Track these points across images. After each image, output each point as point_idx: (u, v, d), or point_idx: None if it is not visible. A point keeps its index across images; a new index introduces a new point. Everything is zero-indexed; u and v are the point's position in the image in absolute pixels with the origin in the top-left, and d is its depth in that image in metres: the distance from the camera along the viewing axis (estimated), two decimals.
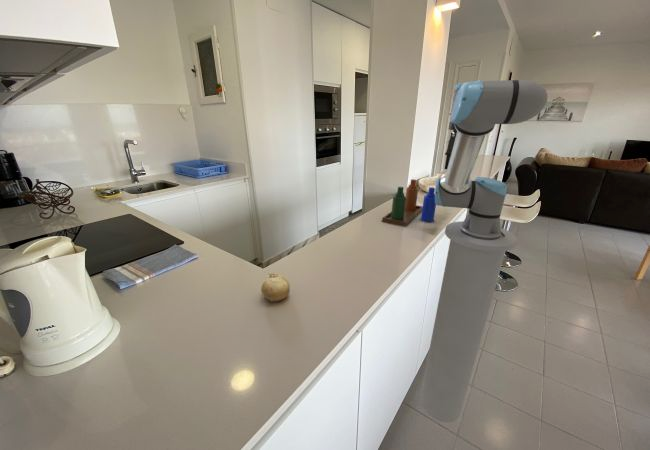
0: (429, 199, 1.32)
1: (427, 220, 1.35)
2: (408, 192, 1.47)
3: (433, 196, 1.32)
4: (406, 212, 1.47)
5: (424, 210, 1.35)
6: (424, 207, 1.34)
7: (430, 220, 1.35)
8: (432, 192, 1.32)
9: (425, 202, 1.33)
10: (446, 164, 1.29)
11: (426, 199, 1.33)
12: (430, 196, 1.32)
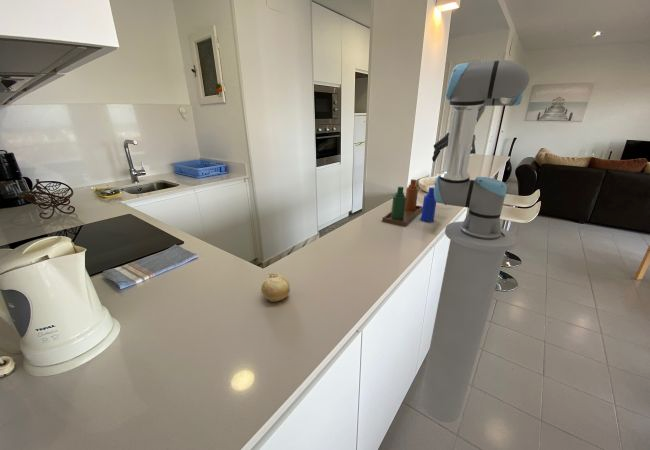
0: (429, 199, 1.32)
1: (427, 220, 1.35)
2: (408, 192, 1.47)
3: (433, 196, 1.32)
4: (406, 212, 1.47)
5: (424, 210, 1.35)
6: (424, 207, 1.34)
7: (430, 220, 1.35)
8: (432, 192, 1.32)
9: (425, 202, 1.33)
10: None
11: (426, 199, 1.33)
12: (430, 196, 1.32)
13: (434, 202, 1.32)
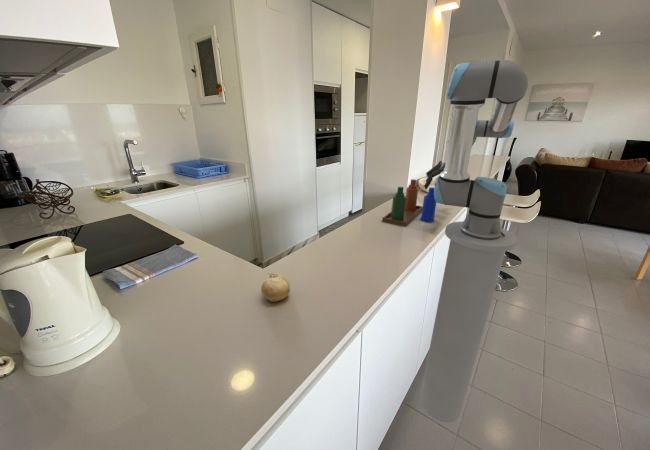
0: (429, 199, 1.32)
1: (427, 220, 1.35)
2: (408, 192, 1.47)
3: (433, 196, 1.32)
4: (406, 212, 1.47)
5: (424, 210, 1.35)
6: (424, 207, 1.34)
7: (430, 220, 1.35)
8: (432, 192, 1.32)
9: (425, 202, 1.33)
10: None
11: (426, 199, 1.33)
12: (430, 196, 1.32)
13: (434, 202, 1.32)
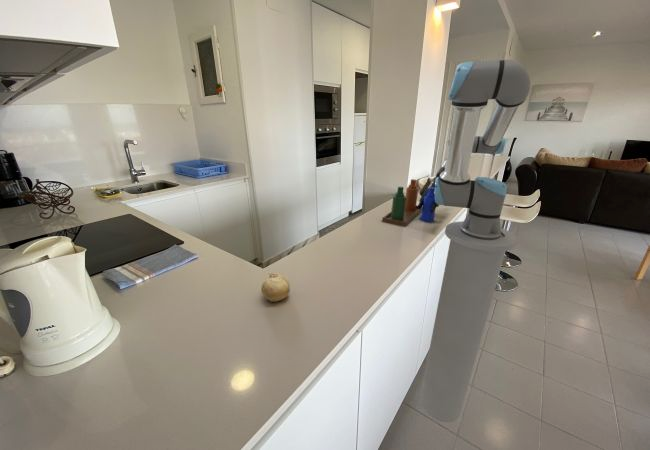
0: (429, 199, 1.32)
1: (427, 220, 1.35)
2: (408, 192, 1.47)
3: (433, 196, 1.32)
4: (406, 212, 1.47)
5: (424, 210, 1.35)
6: (424, 207, 1.34)
7: (430, 220, 1.35)
8: (432, 192, 1.32)
9: (425, 202, 1.33)
10: None
11: (426, 199, 1.33)
12: (430, 196, 1.32)
13: None
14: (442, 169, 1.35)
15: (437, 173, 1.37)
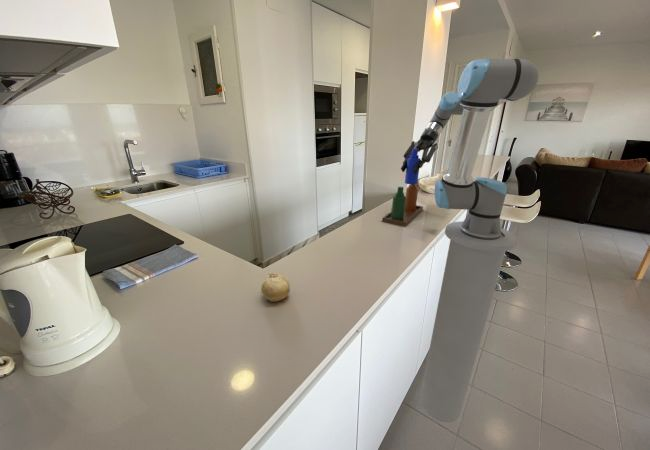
0: (412, 160, 1.31)
1: (410, 182, 1.34)
2: (408, 192, 1.47)
3: (416, 157, 1.31)
4: (406, 212, 1.47)
5: (408, 172, 1.34)
6: (407, 169, 1.34)
7: (413, 182, 1.34)
8: (415, 153, 1.31)
9: (408, 164, 1.32)
10: None
11: (409, 160, 1.32)
12: (413, 157, 1.31)
13: None
14: (426, 131, 1.34)
15: (421, 135, 1.36)
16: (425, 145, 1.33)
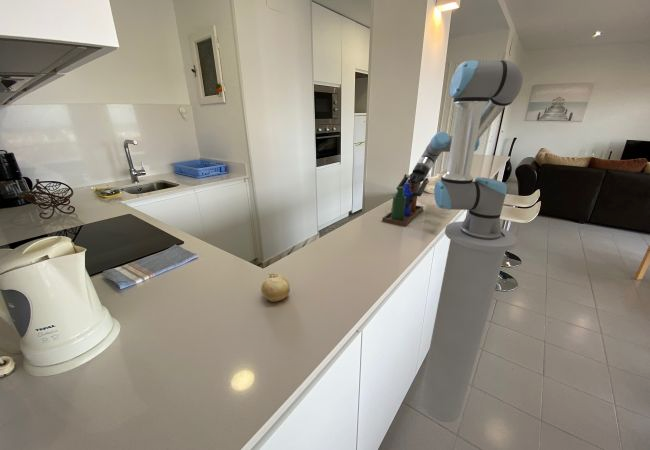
0: (404, 194, 1.38)
1: None
2: None
3: (408, 191, 1.38)
4: None
5: None
6: None
7: (406, 214, 1.41)
8: (407, 187, 1.38)
9: None
10: None
11: None
12: (406, 191, 1.38)
13: None
14: (418, 166, 1.41)
15: (413, 169, 1.43)
16: (417, 179, 1.40)
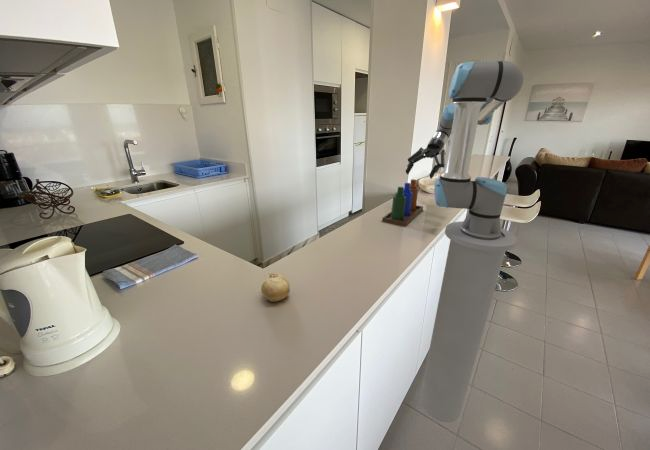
0: (404, 194, 1.38)
1: None
2: None
3: (408, 191, 1.38)
4: None
5: None
6: None
7: (406, 214, 1.41)
8: (407, 187, 1.38)
9: None
10: None
11: None
12: (406, 191, 1.38)
13: (409, 197, 1.38)
14: (432, 140, 1.44)
15: (428, 144, 1.45)
16: (434, 153, 1.42)
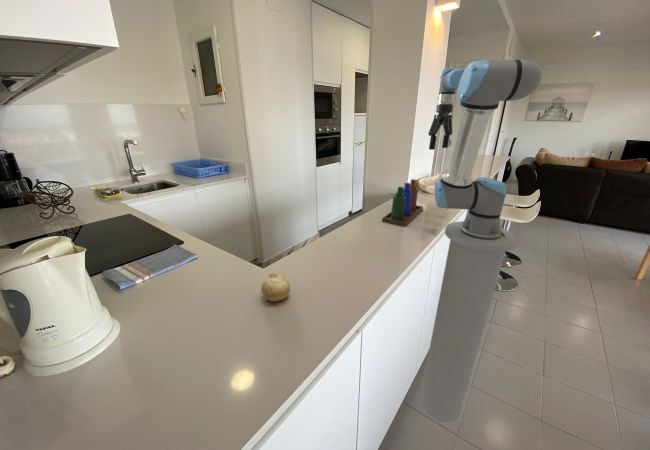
0: (404, 194, 1.38)
1: None
2: None
3: (408, 191, 1.38)
4: None
5: None
6: None
7: (406, 214, 1.41)
8: (407, 187, 1.38)
9: None
10: (430, 144, 1.39)
11: None
12: (406, 191, 1.38)
13: (409, 197, 1.38)
14: (451, 107, 1.34)
15: (446, 112, 1.34)
16: (448, 121, 1.39)
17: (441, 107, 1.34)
